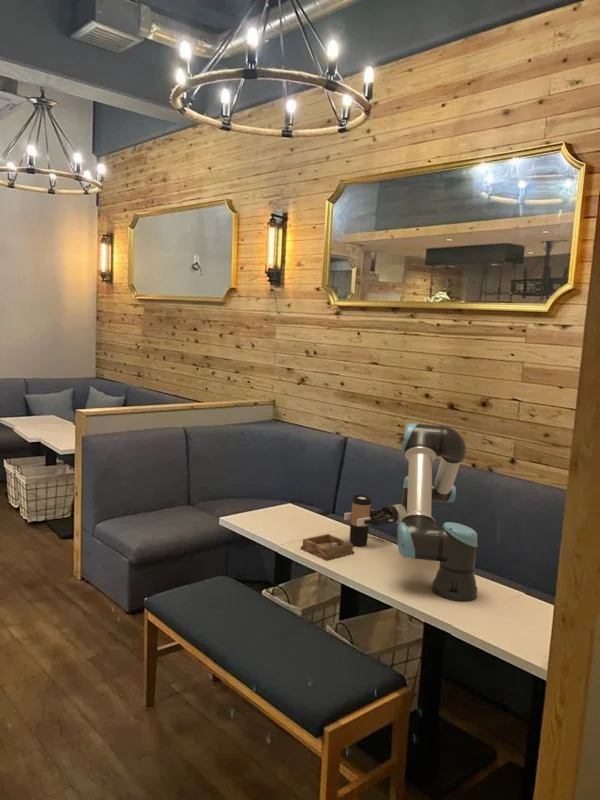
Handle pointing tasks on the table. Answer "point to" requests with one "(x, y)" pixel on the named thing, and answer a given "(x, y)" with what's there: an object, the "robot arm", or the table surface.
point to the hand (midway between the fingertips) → (351, 519)
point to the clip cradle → (327, 547)
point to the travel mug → (359, 511)
